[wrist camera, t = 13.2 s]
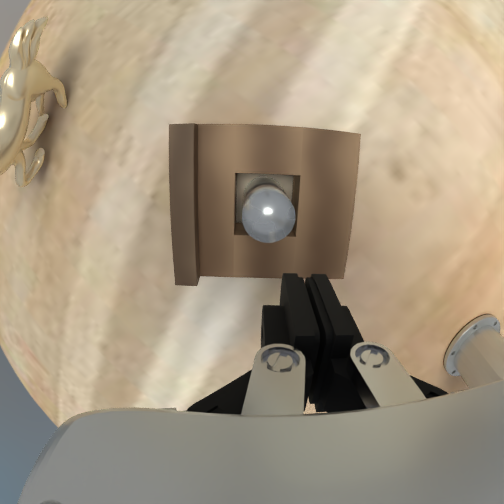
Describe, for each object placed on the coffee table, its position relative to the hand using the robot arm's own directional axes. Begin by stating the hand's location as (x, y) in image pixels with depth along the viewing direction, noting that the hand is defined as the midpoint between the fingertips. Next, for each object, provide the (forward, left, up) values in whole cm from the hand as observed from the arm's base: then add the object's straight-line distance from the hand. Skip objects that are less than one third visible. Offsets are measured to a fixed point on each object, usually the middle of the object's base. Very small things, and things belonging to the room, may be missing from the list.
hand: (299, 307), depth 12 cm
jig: (0, 0, -20) cm, 20 cm away
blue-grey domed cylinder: (0, 0, -20) cm, 20 cm away
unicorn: (+24, -10, -20) cm, 33 cm away
